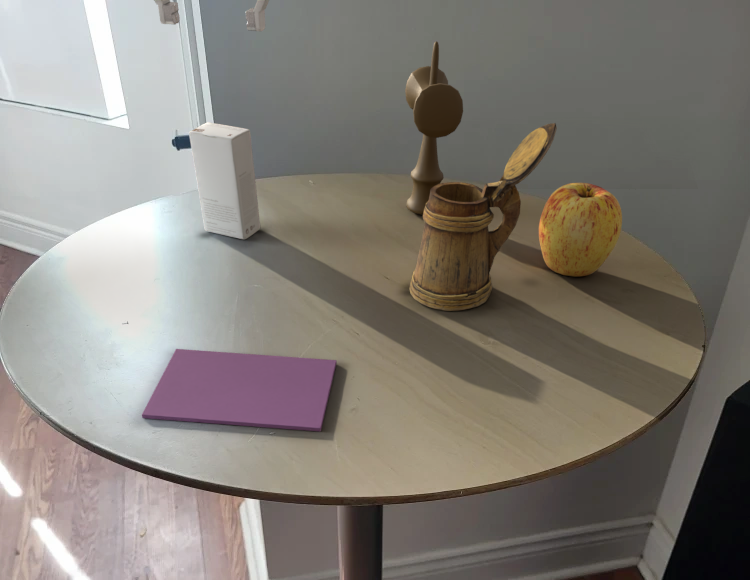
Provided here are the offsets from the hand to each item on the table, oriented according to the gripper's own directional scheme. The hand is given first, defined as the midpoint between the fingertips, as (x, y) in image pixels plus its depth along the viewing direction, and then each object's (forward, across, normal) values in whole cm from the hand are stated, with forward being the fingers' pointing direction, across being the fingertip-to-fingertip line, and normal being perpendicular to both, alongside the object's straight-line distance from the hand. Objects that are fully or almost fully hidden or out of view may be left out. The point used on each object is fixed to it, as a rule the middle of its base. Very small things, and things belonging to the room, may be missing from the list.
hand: (213, 26), depth 81 cm
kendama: (+23, +22, +14) cm, 35 cm away
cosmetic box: (+23, -1, +2) cm, 23 cm away
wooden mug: (+23, +30, -7) cm, 39 cm away
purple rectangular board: (+23, +12, -31) cm, 40 cm away
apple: (+23, +41, +1) cm, 47 cm away
